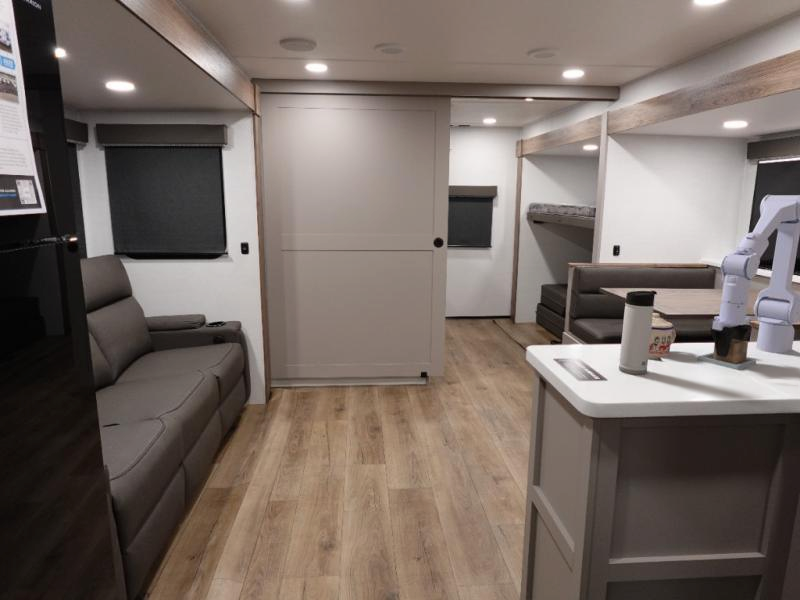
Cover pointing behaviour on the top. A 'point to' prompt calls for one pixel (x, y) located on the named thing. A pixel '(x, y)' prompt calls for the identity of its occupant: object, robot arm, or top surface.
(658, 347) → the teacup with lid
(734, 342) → the brown wooden cube
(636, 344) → the travel mug
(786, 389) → the top surface
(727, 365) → the tray
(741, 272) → the robot arm
